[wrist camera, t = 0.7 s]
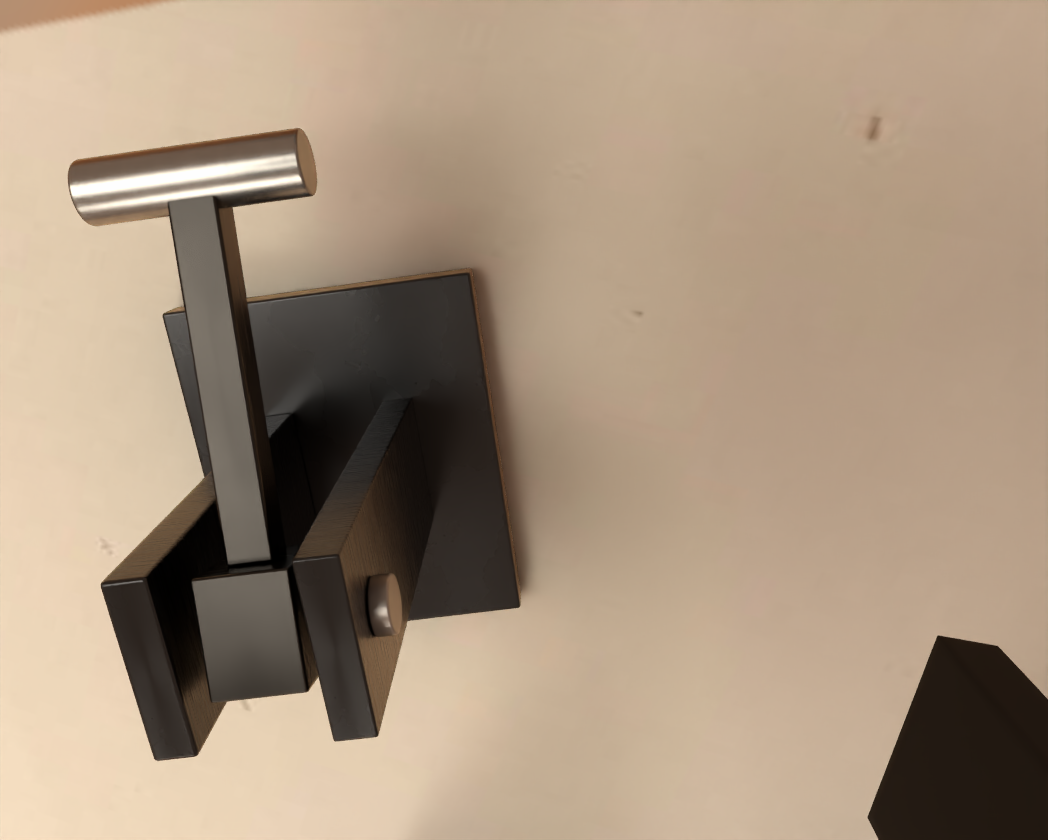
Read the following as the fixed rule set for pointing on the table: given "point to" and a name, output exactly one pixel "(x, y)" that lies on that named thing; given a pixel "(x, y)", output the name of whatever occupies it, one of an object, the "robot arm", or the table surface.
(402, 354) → the bracket
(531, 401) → the table surface
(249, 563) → the lever
